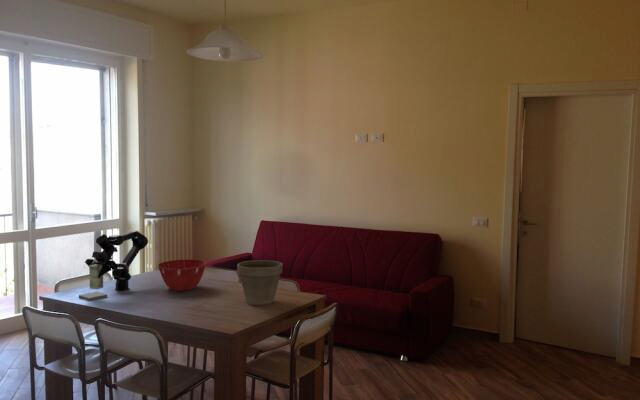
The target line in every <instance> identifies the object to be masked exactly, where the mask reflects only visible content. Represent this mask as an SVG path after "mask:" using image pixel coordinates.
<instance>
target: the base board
mask: <svg viewBox="0 0 640 400" xmlns="http://www.w3.org/2000/svg"><path fill="white" fill-rule="evenodd" d="M105 297H106V298H108V294H107V293H104V292H100V291H92V292H87V293H82V294H78V298H79V299H81V298H82V299H81V300H84V299H85V300H86V301H87V300H88V302H91V300H92V301H96V300H100V299H104V298H105ZM85 300H84V301H85Z"/></svg>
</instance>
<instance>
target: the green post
mask: <svg viewBox="0 0 640 400" xmlns="http://www.w3.org/2000/svg"><path fill="white" fill-rule="evenodd" d="M88 268H89V269H88V270H89V273H88V274H89V289H90V290H100V289H104V275H103V276H101V277H100V278H99V277H98V275H99V273H100V271H101V269H102V265H100V264H94V265H91V266H88Z"/></svg>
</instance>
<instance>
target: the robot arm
mask: <svg viewBox="0 0 640 400" xmlns="http://www.w3.org/2000/svg"><path fill="white" fill-rule="evenodd" d="M128 240H131V242H132V247H131V248H130V250H129V251H128V252H127V254H126V255H125V257H124V259H123V260H122V261H121V262H120V263H116V261H115V260H113V257H112V256H113V255H114V253H118V249H117V247H116V246H122V245H123V243H124V242H125V241H128ZM95 242H96V244H97V245H98V246H99V248H101V250H102V251H92V255H91V258H87V259H86V260H85V261H84V263H85V264H86V266H87V267H89V266H91V265H94V264H100V265H102V269H101V271H100V273H99V275H98V277H99V278H100V277H101V276H103V277H104V275H106V274H107V273H108V272H110V271H112V273H111V275H112V278H113V280H114V281H116V282H115V288H114V290H115V291H119V292H122V291H123V292H124V291H128V290H130V289H131V288H130V287H129V281H130V280H131V277H132V275H131V274H130V266H131V264H132V263H133V261H134V260H135V258H136V257H137V255H138V254H139V252H140V251H141V250H142V249H144V248H146V247H147V245H148V243H149V239H148V237H146V236H145V235H144V234H143V233H141V232H140V231H138V230H130V231H128V232H124V233H121V234H114V235H113V234H112V235H111V234H110V235H108V236H107V235H106V234H105V233H104V234H102V235H100V236H98V237H97V238H96V239H95ZM93 258H94V259H93Z"/></svg>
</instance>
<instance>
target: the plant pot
mask: <svg viewBox="0 0 640 400" xmlns="http://www.w3.org/2000/svg"><path fill="white" fill-rule="evenodd" d="M236 266H237V269H236V270H237V274H238V275H239V278H240V282H241V286H242V289H243V294H244V297H245V302H246V304H248V305H251V306H269V305H271V304H273V303H274V301H275V297H276V293H277V289H278V285H279V282H280V279H281V274H282V273H283V266H284V265H283V262H280V261H276V260H267V259H265V260H261V259H260V260H259V259H258V260H257V259H256V260H246V261H242V262H239V263H237V265H236Z"/></svg>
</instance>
